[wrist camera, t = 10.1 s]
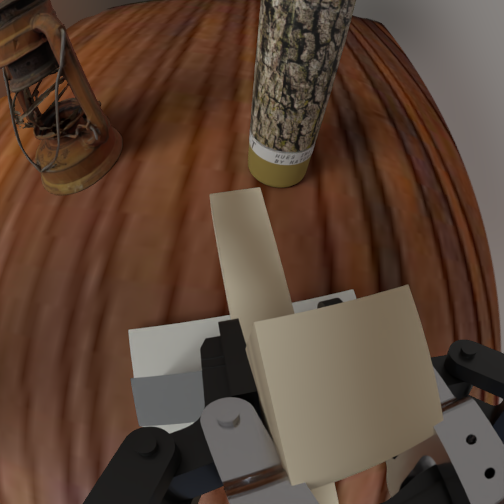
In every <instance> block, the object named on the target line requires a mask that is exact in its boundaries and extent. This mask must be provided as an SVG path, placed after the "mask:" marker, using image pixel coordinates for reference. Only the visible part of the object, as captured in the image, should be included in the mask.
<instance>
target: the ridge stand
mask: <svg viewBox="0 0 504 504" xmlns="http://www.w3.org/2000/svg"><path fill="white" fill-rule="evenodd" d="M333 298H340V299H341V300H342V301H343V302H347V301H350V300H354V299H356V296H355V293H354V290H353V289H352V290H348V291H344V292H339V293H335V294H331V295H326V296H322V297H317V298H313V299H308V300H304V301H299V302H294V303H292V305H293V309H294V313H295V314H296V313H300V312H305V311H309V310H314V309H317V305H318V303H319V302H321V301H325V300H329V299H333ZM226 320H231V318H230V315H226V316H221V317H215V318H209V319H202V320H196V321H190V322H183V323H176V324H169V325H162V326H155V327H147V328H139V329H131V330H128V332H129V342H130V351H131V359H132V366H133V373H134V378H131V385H132V391H133V397H134V402H135V408H136V413H137V418H138V423H139V426H143V427H149V426H152V427H159V428H161V429H164V430H165V431H167V432H168V433H169V434H170V433H173V432H175V431H178V430H181V429H183V428H186V427H188V426H190V425H191V424H193V423H194V422H196V421H197V420H198V419H199V418H200V416H201V414H202V412H203V410H204V407H205V401H204V390H203V379H202V367H201V354H200V348H201V346H202V344H203V342H204V340H205V338H211V337H217V336H220V331H219V325H218V322H220V321H226Z"/></svg>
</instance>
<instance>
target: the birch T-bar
mask: <svg viewBox="0 0 504 504" xmlns="http://www.w3.org/2000/svg"><path fill="white" fill-rule="evenodd" d="M210 202H211V212H212V218H213V224H214V230H215V236H216V242H217V248H218V254H219V259H220V265H221V270H222V276H223V281H224V287H225V292H226V297H227V303H228V308H229V313H230V318H231V319H237V318H238V319H239V322H240V325H241V329H242V332H243V336H244V339H245V342H246V349H245V350H246V353H247V357H248V360H249V364H250V367H251V370H252V374H253V377H254V381H255V384H256V387H257V391H258V397H259V404H260V411H261V418H262V423H263V425H264V427H265V429H266V430H267V432H268V434H269V436H270V437H271V439H272V441H273V443H274V444H275V447H276V450H277V453H278V456H279V459H280V462H281V465H282V467H283V468H284V469H285V470H286V472H287V474H288V477H289V479H290V482H291V485H292V486H294V485H298V484H301V483H306V485H307V486H308V488H309V489H310V491H311V492H312V494H313V495H314V497H315V498H316V499H317V501H318V502H319V504H339V503H338V498H337V493H336V488H335V484H334V482H336V481H339V480H341V479H344V478H347V477H349V476H352V475H354V474H357V473H359V472H362V471H364V470H367V469H369V468H371V467H373V466H376V465H378V464H380V463H382V462H384V461H386V460H388V459H391V458H393V457H395V456H397V455H399V454H400V453H402V452H404V451H406V450H408V449H410V448H412V447H414V446H415V445H417V444H419V443H421V442H422V441H424V440H426V439H427V438H429V437H431V436H432V435H434V431H433V426H435V425H437V424H438V423H440V422H441V421H443V414H442V408H441V403H440V398H439V392H438V388H437V383H436V378H435V374H434V369H433V365H432V361H431V357H430V353H429V350H428V346H427V342H426V339H425V335H424V332H423V328H422V325H421V321H420V318H419V315H418V312H417V309H416V306H415V303H414V300H413V297H412V294H411V291H410V288H409V285H405V286H401V287H398V288H394V289H391V290H388V291H384V292H380V293H377V294H373V295H369V296H366V297H362V298H358V299H354V300H350V301H347V302H343V303H339V304H335V305H330V306H326V307H322V308H318V309H314V310H309V311H305V312H300V313H296V314H295V313H294V309H293V305H292V302H291V298H290V294H289V290H288V286H287V283H286V279H285V275H284V271H283V268H282V264H281V260H280V257H279V253H278V249H277V246H276V242H275V239H274V235H273V231H272V228H271V224H270V221H269V217H268V214H267V210H266V207H265V203H264V200H263V196H262V193H261V189H260V187H259V188H251V189H243V190H235V191H228V192H221V193H214V194H210Z"/></svg>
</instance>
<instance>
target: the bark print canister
mask: <svg viewBox="0 0 504 504" xmlns="http://www.w3.org/2000/svg"><path fill="white" fill-rule="evenodd" d="M355 2H356V0H261V7H260V17H259V28H258V40H257V51H256V63H255V74H254V87H253V99H252V111H251V124H250V137H249V153H248V167H249V170H250V172H251V173H252V175H253V176H254V177H255V178H256V179H257V180H258V181H260V182H261V183H263V184H265V185H268V186H271V187H278V188H283V187H289V186H292V185H295V184H297V183H298V182H300V181H301V180H302V179H303V177H304V176H305V174H306V170H307V167H308V164H309V161H310V158H311V155H312V152H313V149H314V146H315V142H316V139H317V136H318V133H319V129H320V126H321V123H322V120H323V116H324V113H325V110H326V106H327V103H328V99H329V96H330V93H331V89H332V86H333V82H334V79H335V75H336V72H337V68H338V65H339V61H340V58H341V54H342V51H343V47H344V43H345V40H346V36H347V32H348V29H349V25H350V21H351V17H352V13H353V10H354V5H355Z"/></svg>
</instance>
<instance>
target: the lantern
mask: <svg viewBox="0 0 504 504" xmlns="http://www.w3.org/2000/svg"><path fill="white" fill-rule="evenodd" d="M59 67H60V68H59ZM1 68H3V77H4V81H5V84H6V87H7V95H8V101H9V107H10V113H11V118H12V123H13V127H14V131H15V135H16V138H17V141H18V143H19V146H20V148H21V149H22V151H23V153H24V154H25V156H26V158H27V159H28V160H29V161H30V162H31V163H32V164H33V166H34V167H35V168H36V169H37V170H38V171H39V172H41V179H42V184H43V186H44V188H45V189H46V190H47V191H48V192H50V193H52V194H55V195H58V194H60V195H67V194H72V193H77V192H79V191H81V190H84V189H86V188H88V187H89V186H91V185H92V184H94V183H96V182H97V181H98V179H101V178H102V177H103V176H104V174H106V173H107V172H108V171H109V170H110V169H111V168H112V166H113V165H114V164H115V162H116V161H117V160H118V158H119V156H120V153H121V151H122V147H123V138H122V136H121V134H120V133H119V132H118V131H117V130H116V129H115V128H113V127H112V126H111V123H110V121H109V118H108V117H107V116H106V115H105V114H104V113H103V111H102V109H101V107H100V106H101V102H100V101H97V99H96V97H95V95H94V93H93V91H92V89H91V86H90V84H89V82H88V80H87V78H86V76H85V74H84V71H83V69H82V67H81V65H80V63H79V60H78V58H77V56H76V53H75V51H74V49H73V47H72V44H71V42H70V39H69V37H68V34H67V32H66V29H65V26H64V24H62V23H61V21H60V20H59V19H58V18H57V16H56V12H55V11H54V9H53V8H52V5H51V1H50V0H4V1H3V2H2V3H0V69H1ZM56 72H58V75H57V79H56V83H54V84H53V85H52V86H51V87H50V88H49V89H47V90H46V91H45V92H44V93H43V94H41V95H40V96H39V98H38V97H37V95H38V93H39V91H38V90H37V89H38V87H39V85H40V83H41V81H42V80H43V78H45V77H46V76H48V75H51V74H55V73H56ZM61 76H63V77H62V78H61V79H60V77H61ZM8 80H10V81H11V82H10V90H9V84H8ZM64 80H67V82H68V84H67V86H66V87H65V88H64V89H63V90H62V92H61V93H60V94H59V95H58V87H59V84H62V83H63V82H64ZM37 82H39V83H38V84H37V86H36V88H35V90H34V92H33V94H32V95H31V93H30V90H29V87H30V86H31V85H33V84H35V83H37ZM68 86H70V88H71V90H72V92H73V94H74V96H75V98H69V99H66V100H63V101H61V102H58V100H59V98H60V97H61V96H62V95H63V93H64V92H65V90H66V89H67V87H68ZM54 89H55V100H54V102H53V103H52V105H50V106H49V108H48V109H47V110H46V111H45V112H44V114H41V112H40V111H39V109H38V107H37V106H38V105H39V104H40V103H41V102H42V101H43V100H44V98H46V97H47V96H48V95H49V93H50V92H51V91H53V90H54ZM10 91H12V92H14V93H16V94H15V97H14V99H13V103H12V99H11V96H10ZM16 96H17V98H18V100H19V103H20V105H21V107H22V109H23V112H24V114H23V115H22V116H21V117H20V116H18V115H20V114H21V113H19V112H18V111H15V108H14V107H15V100H16ZM34 96H35V97H36V99H35V101H34V99H33V97H34ZM15 114H18V115H15ZM24 117H26V118H27V120H28V122H27V123H28V124H27V123H25V127H23V129H24V128H26V127H27V128H30V127H33V128H34V136H35V137H36V138H37V139H39V140H42V141H41V143H40V145H39V147H38V149H37V151H36V158H35V162H36V164H35V163H34V162H33V161H32V160H31V159H30V158H29V157H28V155H27V154H26V152H25V151H24V149H23V147H22V144H21V141H20V138H19V135H18V131H17V127H16V124H18V125H20V124H22V123H23V122H24V121H23V118H24ZM19 120H20V121H21V122H20V121H19ZM15 122H17V123H16V124H15ZM23 124H24V123H23ZM20 127H21V126H20Z"/></svg>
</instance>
